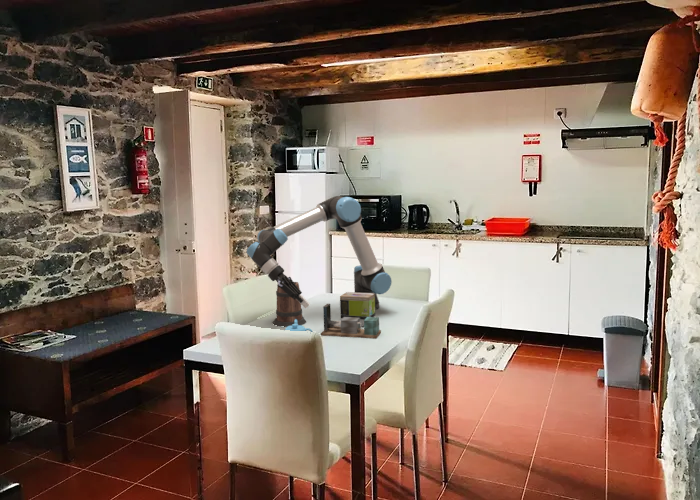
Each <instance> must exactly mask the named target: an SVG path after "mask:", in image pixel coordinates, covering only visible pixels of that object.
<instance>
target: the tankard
mask: <svg viewBox="0 0 700 500" xmlns="http://www.w3.org/2000/svg"><path fill="white" fill-rule="evenodd" d="M293 282H294V283H295V284H296V286H297V287H298V288H299V290H300V291H301V289H300V284H299V282H298V281H293ZM276 286H277V285H276ZM275 294H276V310H275V315H276V317H275V319H273V320H274V321H273V322H272V323H273V324H274V325H273V324H272V325H273V326H275V325H277V326H276V327H278V326H284V327H283V328H286V327H288V326H292V324H294V320H295V319H297V323H298V325H302V326H304V325H305V324H307V320H306V319H305V317H304V316H303V308H302V305H301V304H300V303H299V301H298V300H297V299H295V300H294V298H292V297H290V296H289V295H288V294H287V293H286V292H285V291H283V290H282V289H281V288H280V287H278V286H277V288H276V291H275Z"/></svg>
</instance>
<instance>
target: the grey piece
mask: <svg viewBox="0 0 700 500" xmlns="http://www.w3.org/2000/svg"><path fill="white" fill-rule="evenodd" d="M322 308H323V311H322V312H323V331H324V330H328V329H329V328H336V329H341V320H332V317H331V316H332V315H331V313H332V312H331V303H325V305H324V306H323V307H322ZM361 329H362V326H361V322H357V330H361Z"/></svg>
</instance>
